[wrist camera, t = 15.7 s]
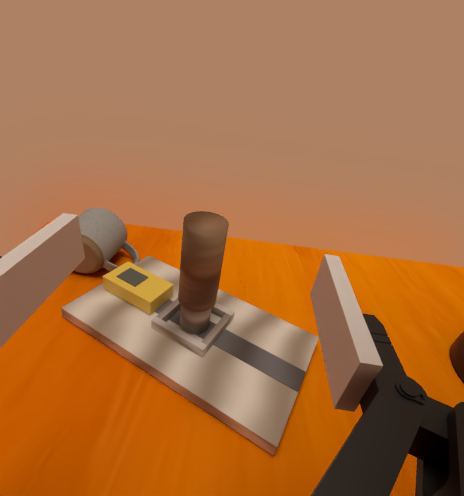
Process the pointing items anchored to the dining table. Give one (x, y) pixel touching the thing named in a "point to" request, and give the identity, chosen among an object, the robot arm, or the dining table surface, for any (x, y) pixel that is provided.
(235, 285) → the dining table surface
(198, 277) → the brown tall rounded piece
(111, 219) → the ceramic mug
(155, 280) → the block
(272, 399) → the subfloor panel
